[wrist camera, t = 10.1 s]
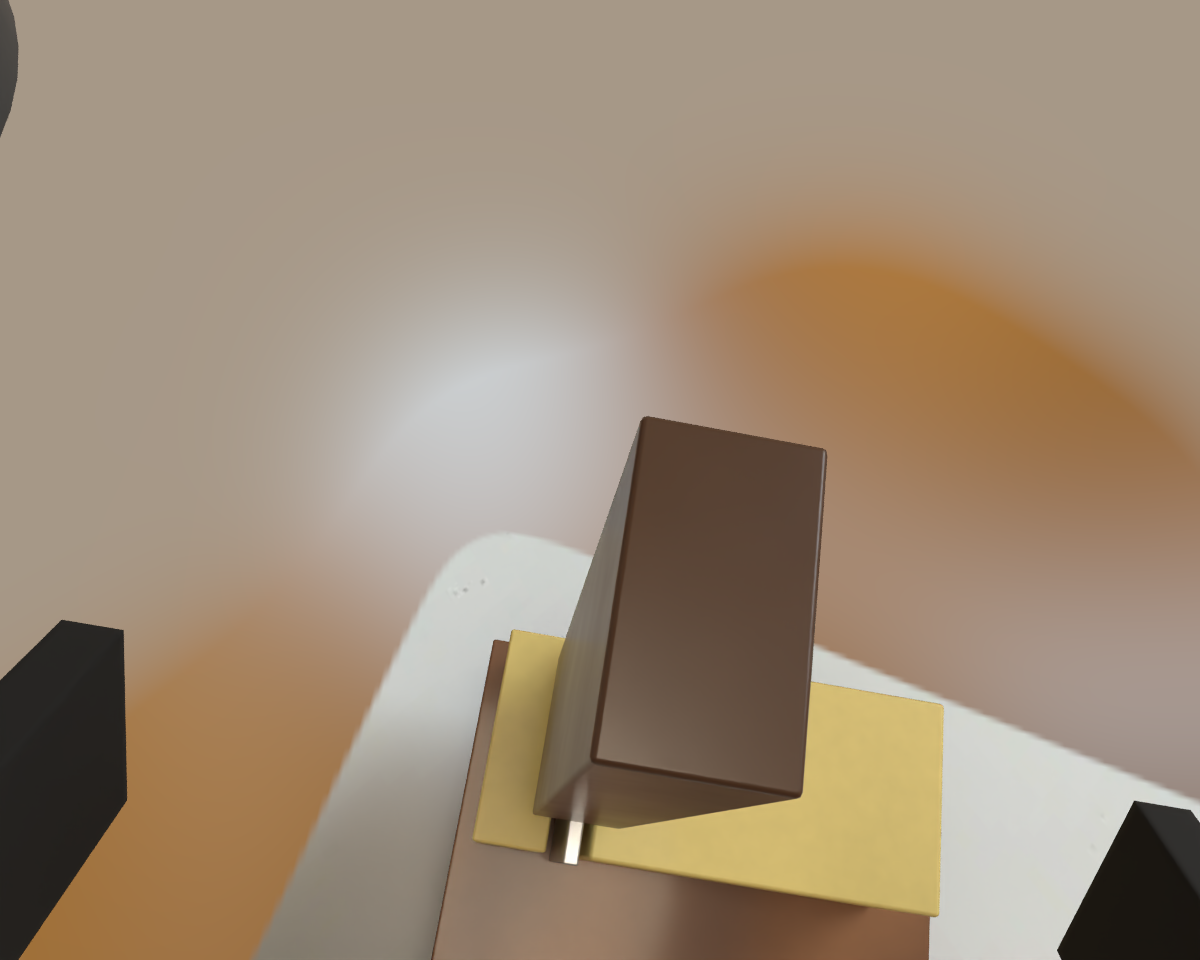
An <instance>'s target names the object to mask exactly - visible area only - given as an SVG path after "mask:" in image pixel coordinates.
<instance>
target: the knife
mask: <svg viewBox="0 0 1200 960" xmlns="http://www.w3.org/2000/svg"><path fill="white" fill-rule="evenodd" d="M826 466H827V452H826V450H824V449H823V448H817V447H812V446H806V445H801V444H795V443H790V442H784V441H779V440H774V439H768V438H763V437H757V436H752V435H746V434H741V433H736V432H730V431H725V430H719V429H714V428H709V427H703V426H698V425H692V424H687V423H681V422H676V421H671V420H665V419H659V418H655V417H649V416H647V417H643V418H642V420H641V421H640V424H639V427H638V430H637V433H636V436H635V439H634V441H633V444H632V447H631V450H630V453H629V456H628V459H627V462H626V465H625V468H624V471H623V473H622V476H621V479H620V482H619V485H618V488H617V491H616V494H615V496H614V499H613V502H612V505H611V508H610V511H609V514H608V517H607V520H606V523H605V525H604V528H603V531H602V534H601V538H600V540H599V543H598V546H597V549H596V552H595V554H594V557H593V560H592V563H591V566H590V569H589V572H588V575H587V577H586V580H585V583H584V586H583V589H582V592H581V595H580V598H579V601H578V604H577V606H576V609H575V612H574V615H573V618H572V621H571V624H570V627H569V630H568V632H567V635H566V638H565V641H564V644H563V647H562V650H561V653H560V656H559V659H558V665H557V671H556V677H555V683H554V689H553V694H552V700H551V706H550V712H549V718H548V724H547V730H546V736H545V742H544V748H543V753H542V759H541V765H540V771H539V777H538V783H537V789H536V795H535V801H534V807H533V814H534V815H538V816H544V817H550V818H556V820H555V826H554V833H553V839H552V845H551V851H550V857H549V861H551V862H556V863H561V864H567V865H573V866H577V865H578V860H579V854H580V847H581V841H582V834H583V827H584V823H586V824H592V825H598V826H604V827H610V828H616V829H621V828H627V827H633V826H639V825H645V824H651V823H657V822H663V821H669V820H675V819H681V818H686V817H692V816H698V815H704V814H710V813H716V812H722V811H728V810H734V809H740V808H745V807H751V806H757V805H763V804H769V803H775V802H781V801H787V800H793V799H797V798H800V797H801V795H802V793H803V784H804V771H805V757H806V743H807V729H808V715H809V701H810V688H811V674H812V660H813V646H814V632H815V619H816V618H815V617H816V604H817V590H818V576H819V563H820V549H821V536H822V522H823V507H824V494H825V479H826Z"/></svg>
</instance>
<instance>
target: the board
mask: <svg viewBox="0 0 1200 960" xmlns="http://www.w3.org/2000/svg"><path fill="white" fill-rule="evenodd" d="M508 647H509V642H506V641H500V640H494V641H493V646H492V651H491V656H490V661H489V666H488V672H487V677H486V682H485V687H484V692H483V697H482V702H481V707H480V712H479V718H478V723H477V728H476V733H475V738H474V743H473V748H472V753H471V759H470V764H469V769H468V774H467V779H466V784H465V789H464V794H463V799H462V805H461V810H460V815H459V820H458V825H457V830H456V835H455V840H454V845H453V851H452V856H451V861H450V866H449V871H448V876H447V881H446V886H445V892H444V897H443V902H442V907H441V912H440V917H439V922H438V927H437V932H436V938H435V943H434V948H433V953H432V958H431V960H929V922H930V916H923V915H917V914H910V913H903V912H897V911H890V910H883V909H877V908H870V907H864V906H858V905H852V904H846V903H840V902H834V901H828V900H822V899H816V898H810V897H804V896H797V895H791V894H785V893H779V892H773V891H767V890H761V889H755V888H749V887H743V886H737V885H731V884H725V883H719V882H713V881H707V880H700V879H694V878H688V877H682V876H676V875H670V874H664V873H658V872H652V871H646V870H640V869H634V868H628V867H622V866H616V865H610V864H603V863H597V862H591V861H585V860H578V865H577V866H573V865H567V864H561V863H556V862H551V861H549V857H550V851H551V845H552V839H553V833H554V826H555V820H556V818H551V822H550V829H549V835H548V841H547V847H546V851H545V852H543V853H542V852H531V851H525V850H519V849H512V848H506V847H500V846H494V845H488V844H482V843H477V842H475V841H473V839H472V837H473V832H474V826H475V821H476V816H477V811H478V805H479V800H480V795H481V789H482V784H483V779H484V774H485V768H486V763H487V758H488V752H489V747H490V742H491V737H492V731H493V726H494V721H495V715H496V710H497V705H498V700H499V694H500V689H501V684H502V678H503V673H504V668H505V663H506V657H507V652H508Z"/></svg>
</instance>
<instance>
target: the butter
mask: <svg viewBox="0 0 1200 960" xmlns="http://www.w3.org/2000/svg"><path fill="white" fill-rule="evenodd" d="M564 641H565V638H560V637H554V636H549V635H543V634H537V633H531V632H526V631H520V630H512V631H511V636H510V642H509V647H508V652H507V657H506V663H505V668H504V673H503V678H502V684H501V689H500V694H499V700H498V705H497V710H496V715H495V721H494V726H493V731H492V737H491V742H490V747H489V752H488V758H487V763H486V768H485V774H484V779H483V784H482V789H481V795H480V800H479V805H478V811H477V816H476V821H475V826H474V832H473V837H472V839H473V841H475V842H477V843H482V844H488V845H494V846H500V847H506V848H512V849H519V850H525V851H531V852H542V853H543V852H545V851H546V847H547V841H548V835H549V829H550V822H551V818H550V817H544V816H538V815H534V814H533V807H534V801H535V795H536V789H537V783H538V777H539V771H540V765H541V759H542V753H543V748H544V742H545V736H546V730H547V724H548V718H549V712H550V706H551V700H552V694H553V689H554V683H555V677H556V671H557V665H558V659H559V656H560V653H561V650H562V647H563V644H564ZM943 715H944V708H943V706H942V705H940V704H937V703H931V702H925V701H920V700H914V699H908V698H902V697H897V696H891V695H885V694H879V693H874V692H868V691H862V690H856V689H851V688H845V687H839V686H834V685H828V684H822V683H816V682H811V688H810V701H809V715H808V729H807V743H806V757H805V771H804V784H803V793H802V795H801V797H800V798H797V799H793V800H787V801H781V802H775V803H769V804H763V805H757V806H751V807H745V808H740V809H734V810H728V811H722V812H716V813H710V814H704V815H698V816H692V817H686V818H681V819H675V820H669V821H663V822H657V823H651V824H645V825H639V826H633V827H627V828H621V829H616V828H610V827H604V826H598V825H592V824H586V823H584V827H583V834H582V841H581V847H580V854H579V860H585V861H591V862H597V863H603V864H610V865H616V866H622V867H628V868H634V869H640V870H646V871H652V872H658V873H664V874H670V875H676V876H682V877H688V878H694V879H700V880H707V881H713V882H719V883H725V884H731V885H737V886H743V887H749V888H755V889H761V890H767V891H773V892H779V893H785V894H791V895H797V896H804V897H810V898H816V899H822V900H828V901H834V902H840V903H846V904H852V905H858V906H864V907H870V908H877V909H883V910H890V911H897V912H903V913H910V914H917V915H923V916H930V917H937V916H938V915H939V898H940V852H941V806H942V761H943Z"/></svg>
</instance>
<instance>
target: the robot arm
mask: <svg viewBox="0 0 1200 960" xmlns="http://www.w3.org/2000/svg"><path fill="white" fill-rule="evenodd" d="M125 725H126V724H125V676H124V631H123V630H119V629H113V628H107V627H102V626H95V625H90V624H83V623H78V622H72V621H65V620H61V621H60V622H59V623H58V624H57V625H56V626H55V627H54V628H53V629H52V630H51V631H50V632H49V633H48V634H47V635H46V636H45V637H44V638H43V639H42V640H41V641H40V642H39V643H38V644H37V645H36V646H35V647H34V648H33V649H32V650H31V651H30V652H29V653H28V654H27V655H26V656H25V657H24V658H22V659H21V661H19V662H18V663H17V665H15V666H14V667H13V669H12V670H11V671H9V672H8V673H7V674H6V675H5V676H4V677H3V678H2V679H1V680H0V960H19V958H20V957H21V955H22V954H23V952H24V951H25V949H26V948H27V946H28V945H29V943H30V942H31V940H32V939H33V938H34V936H35V935H36V933H37V932H38V930H39V929H40V927H41V926H42V924H43V922H44V921H45V920H46V918H47V917H48V915H49V914H50V913H51V911H52V910H53V908H54V907H55V905H56V904H57V902H58V901H59V899H60V898H61V896H62V895H63V893H64V892H65V890H66V889H67V888H68V886H69V885H70V883H71V882H72V880H73V879H74V877H75V876H76V874H77V873H78V871H79V870H80V868H81V867H82V865H83V864H84V863H85V861H86V860H87V858H88V857H89V855H90V854H91V852H92V851H93V849H94V848H95V846H96V845H97V843H98V842H99V840H100V839H101V838H102V836H103V835H104V833H105V832H106V830H107V829H108V827H109V826H110V824H111V823H112V821H113V820H114V818H115V817H116V816H117V814H118V813H119V811H120V810H121V808H122V807H123V805H124V804H125V802H126V801H127V776H126V775H127V773H126V726H125ZM1057 951H1058V953H1059V955H1060V958H1061V960H1200V822H1199V821H1198V820H1197V818H1196V817H1195V816H1194V814H1193V813H1192V812H1191V810H1186V809H1180V808H1174V807H1168V806H1162V805H1156V804H1151V803H1145V802H1139V801H1134V802H1133V804H1132V806H1131V808H1130V810H1129V812H1128V814H1127V816H1126V818H1125V820H1124V822H1123V824H1122V826H1121V827H1120V829H1119V831H1118V833H1117V835H1116V837H1115V839H1114V841H1113V843H1112V845H1111V847H1110V849H1109V851H1108V853H1107V855H1106V856H1105V858H1104V860H1103V862H1102V864H1101V866H1100V868H1099V870H1098V872H1097V874H1096V876H1095V878H1094V880H1093V882H1092V884H1091V885H1090V887H1089V889H1088V891H1087V893H1086V895H1085V897H1084V899H1083V901H1082V903H1081V905H1080V907H1079V909H1078V911H1077V913H1076V914H1075V916H1074V918H1073V920H1072V922H1071V924H1070V926H1069V928H1068V930H1067V932H1066V934H1065V936H1064V938H1063V940H1062V942H1061V943H1060V945H1059V947H1058V949H1057Z"/></svg>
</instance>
